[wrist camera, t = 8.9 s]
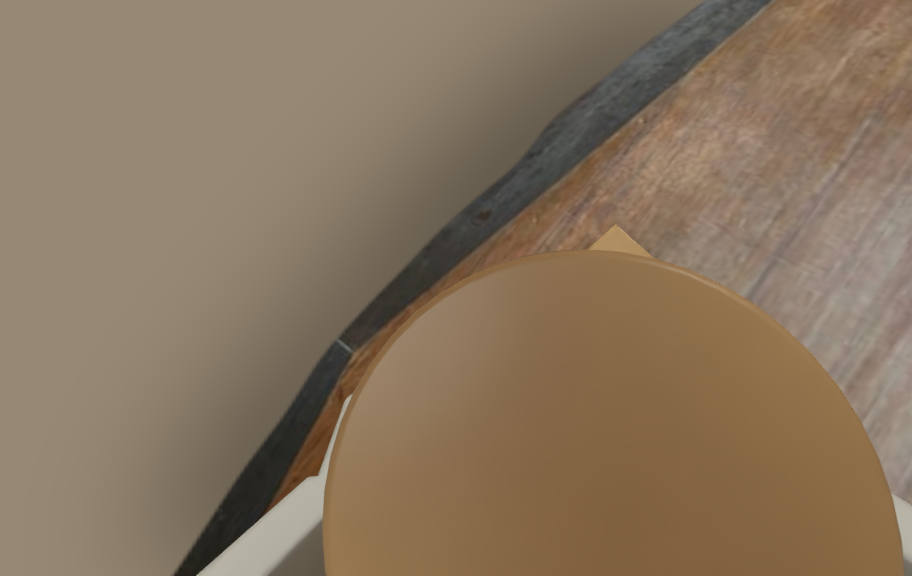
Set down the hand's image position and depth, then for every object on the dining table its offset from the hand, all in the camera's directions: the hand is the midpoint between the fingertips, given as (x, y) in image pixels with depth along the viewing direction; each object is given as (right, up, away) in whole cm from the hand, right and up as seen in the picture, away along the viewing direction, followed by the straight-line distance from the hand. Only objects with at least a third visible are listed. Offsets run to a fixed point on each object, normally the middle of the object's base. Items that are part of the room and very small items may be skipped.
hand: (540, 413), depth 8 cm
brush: (+1, -2, +6) cm, 7 cm away
